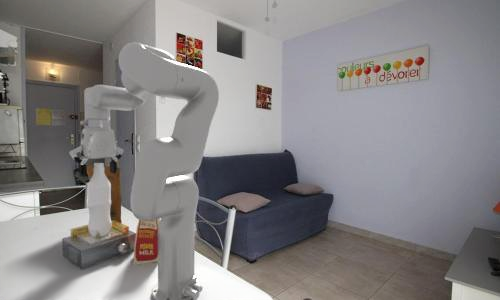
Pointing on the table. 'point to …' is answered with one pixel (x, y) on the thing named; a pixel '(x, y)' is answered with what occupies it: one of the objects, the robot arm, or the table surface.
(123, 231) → the gray box with knob
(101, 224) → the water bottle
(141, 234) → the milk carton
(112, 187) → the pancake mix bag
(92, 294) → the table surface
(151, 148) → the robot arm
